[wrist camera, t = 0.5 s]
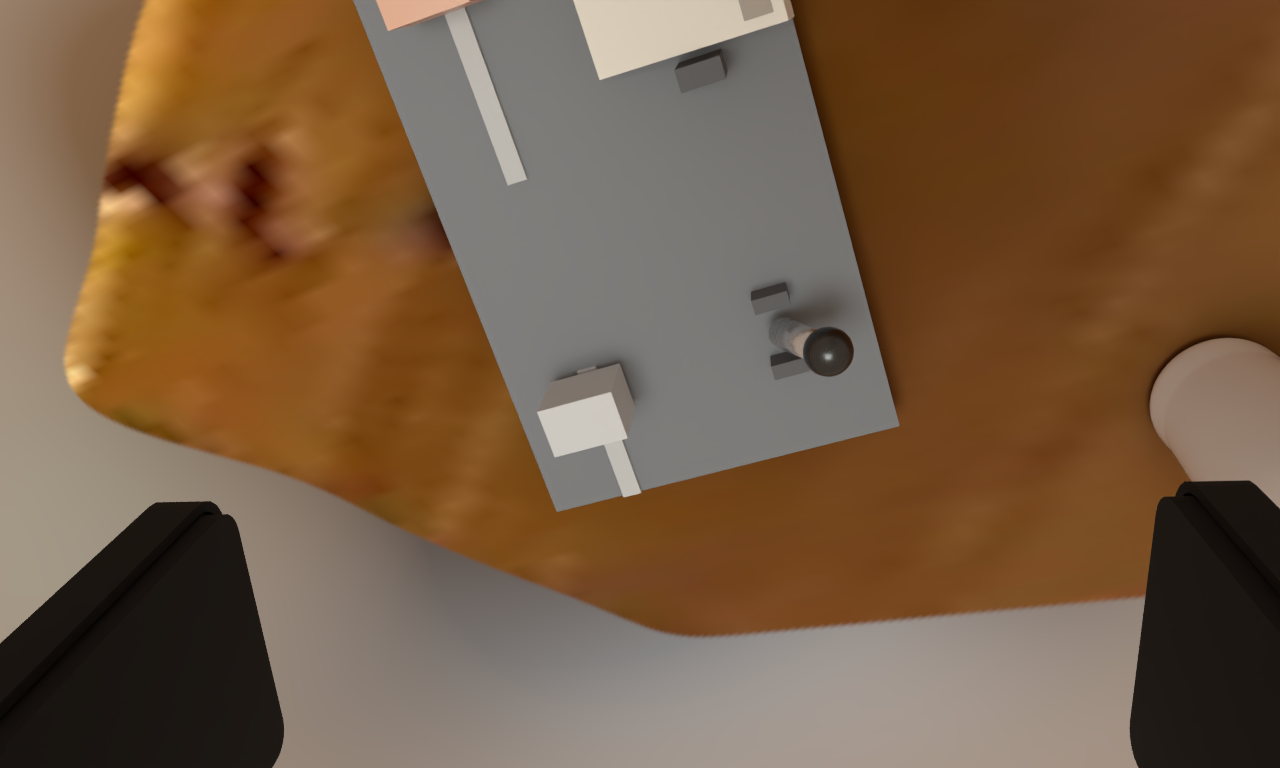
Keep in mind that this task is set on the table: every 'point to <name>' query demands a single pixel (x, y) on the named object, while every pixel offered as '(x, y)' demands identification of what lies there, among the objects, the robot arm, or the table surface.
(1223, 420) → the drinking glass
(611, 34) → the rocker switch
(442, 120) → the switch panel
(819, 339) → the toggle lever
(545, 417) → the slide paddle
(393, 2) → the slide paddle
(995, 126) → the table surface
